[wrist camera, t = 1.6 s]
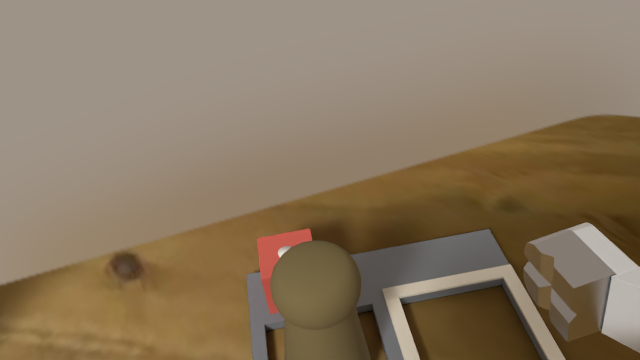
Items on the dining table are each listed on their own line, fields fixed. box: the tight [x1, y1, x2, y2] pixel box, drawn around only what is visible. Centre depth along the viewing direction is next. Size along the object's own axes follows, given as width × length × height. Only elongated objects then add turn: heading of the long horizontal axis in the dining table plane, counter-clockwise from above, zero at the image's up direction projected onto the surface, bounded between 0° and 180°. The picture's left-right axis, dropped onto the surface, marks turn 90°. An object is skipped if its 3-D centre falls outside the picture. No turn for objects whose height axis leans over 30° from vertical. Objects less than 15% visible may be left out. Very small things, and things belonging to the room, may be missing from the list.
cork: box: [270, 240, 371, 360], centre depth 33 cm, size 6×6×11 cm
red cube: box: [257, 229, 312, 314], centre depth 40 cm, size 4×4×4 cm
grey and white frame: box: [247, 229, 565, 360], centre depth 37 cm, size 20×16×1 cm
